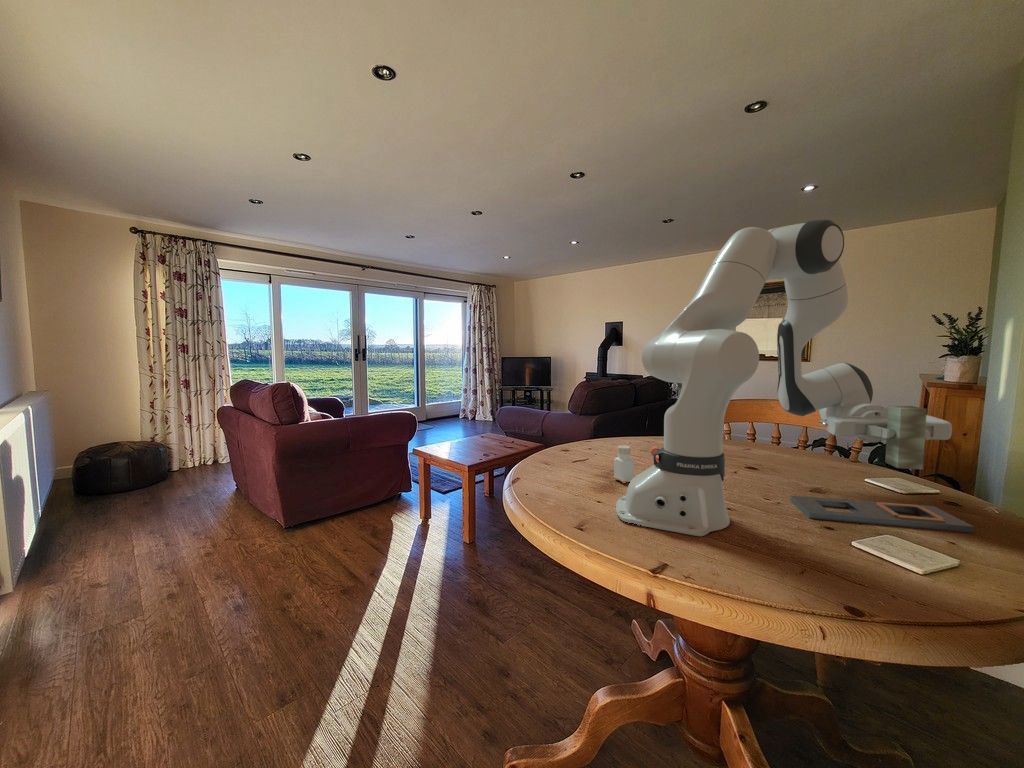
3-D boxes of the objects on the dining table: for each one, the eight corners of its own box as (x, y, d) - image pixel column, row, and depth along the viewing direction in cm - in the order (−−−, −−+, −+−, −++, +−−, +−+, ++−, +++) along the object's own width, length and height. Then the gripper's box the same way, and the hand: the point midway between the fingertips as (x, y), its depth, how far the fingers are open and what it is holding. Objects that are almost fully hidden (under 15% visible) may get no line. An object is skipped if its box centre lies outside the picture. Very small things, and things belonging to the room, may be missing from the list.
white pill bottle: (634, 482, 104) (634, 447, 104) (622, 484, 103) (622, 449, 102) (625, 478, 108) (625, 444, 107) (613, 480, 107) (613, 445, 106)
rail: (809, 518, 80) (809, 511, 80) (790, 500, 90) (790, 494, 90) (973, 532, 73) (974, 525, 73) (933, 511, 82) (934, 504, 82)
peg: (897, 468, 78) (901, 408, 77) (885, 462, 82) (888, 405, 81) (922, 469, 77) (926, 409, 76) (909, 463, 81) (912, 406, 80)
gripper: (816, 408, 94) (846, 418, 81) (923, 409, 88) (975, 420, 75) (815, 434, 94) (845, 448, 81) (921, 437, 88) (972, 453, 75)
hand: (908, 435), depth 78 cm, fingers closed on peg, 4 cm apart
